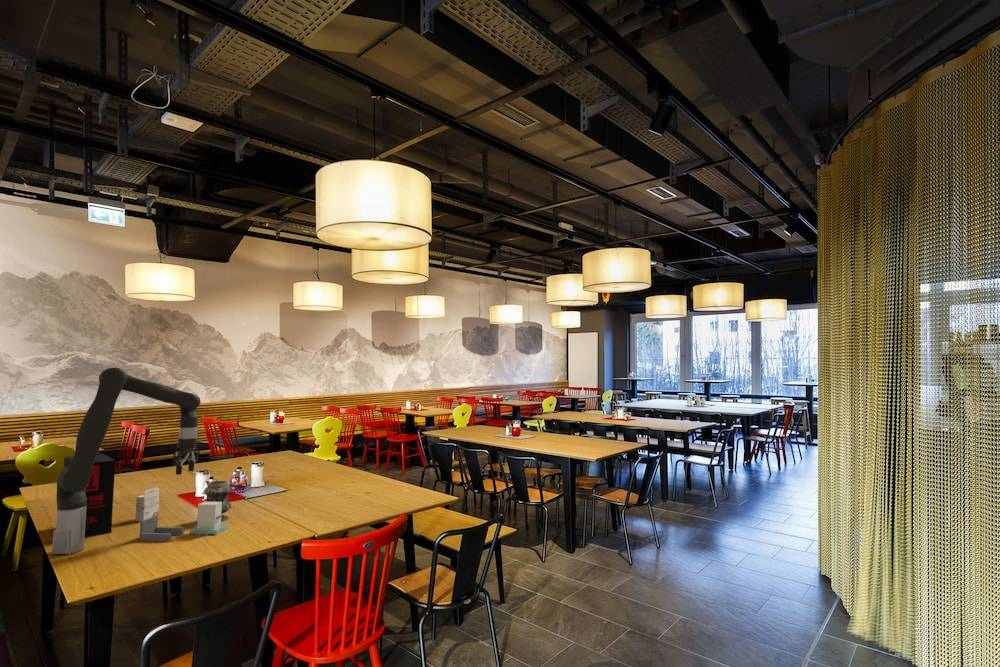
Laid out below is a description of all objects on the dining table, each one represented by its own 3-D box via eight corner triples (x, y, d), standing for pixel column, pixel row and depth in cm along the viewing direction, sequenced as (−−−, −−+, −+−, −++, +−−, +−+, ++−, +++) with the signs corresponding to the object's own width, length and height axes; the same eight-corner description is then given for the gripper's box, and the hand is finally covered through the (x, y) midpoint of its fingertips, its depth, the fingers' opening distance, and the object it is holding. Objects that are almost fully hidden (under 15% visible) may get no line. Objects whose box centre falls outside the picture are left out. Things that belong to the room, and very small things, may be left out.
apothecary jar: (221, 514, 259) (223, 478, 260) (235, 518, 253) (237, 481, 254) (197, 520, 249) (198, 482, 250) (211, 524, 242) (213, 486, 244)
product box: (111, 532, 230) (115, 460, 232) (70, 540, 219) (74, 464, 221) (98, 520, 248) (102, 453, 250) (60, 527, 237) (64, 457, 239)
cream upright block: (216, 532, 230) (217, 504, 231) (196, 531, 230) (198, 504, 231) (222, 528, 235) (223, 501, 236) (203, 528, 235) (204, 501, 236)
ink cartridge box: (150, 516, 255) (151, 486, 256) (158, 517, 254) (160, 486, 255) (134, 521, 247) (136, 490, 248) (143, 522, 246) (144, 490, 247)
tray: (216, 534, 228) (216, 530, 228) (189, 534, 228) (190, 529, 228) (227, 528, 237) (227, 524, 237) (202, 528, 237) (202, 523, 237)
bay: (169, 541, 219) (170, 522, 220) (139, 540, 219) (140, 521, 220) (183, 534, 229) (184, 515, 229) (154, 533, 229) (155, 515, 229)
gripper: (185, 439, 230) (182, 476, 228) (205, 435, 244) (202, 470, 243) (169, 438, 230) (166, 475, 229) (189, 435, 244) (187, 469, 243)
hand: (184, 472), depth 236 cm, fingers open, 8 cm apart
